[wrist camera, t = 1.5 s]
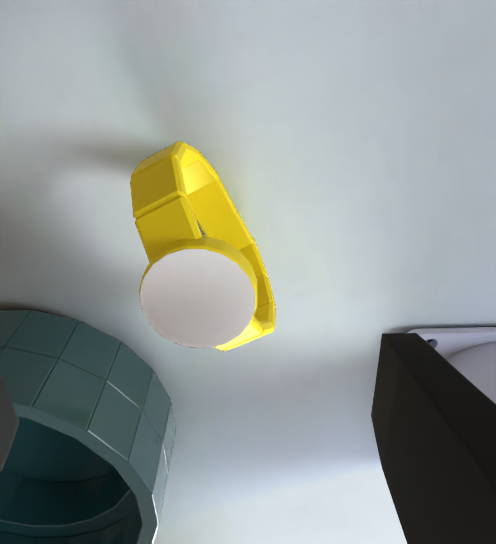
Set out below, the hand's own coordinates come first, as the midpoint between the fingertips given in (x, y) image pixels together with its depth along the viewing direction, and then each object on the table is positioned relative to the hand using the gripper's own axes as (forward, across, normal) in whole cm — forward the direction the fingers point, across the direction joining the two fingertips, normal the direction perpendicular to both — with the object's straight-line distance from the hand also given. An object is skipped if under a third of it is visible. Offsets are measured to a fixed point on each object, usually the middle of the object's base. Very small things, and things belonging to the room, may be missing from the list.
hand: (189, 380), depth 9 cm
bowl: (+8, +8, +9) cm, 15 cm away
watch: (+9, 0, 0) cm, 9 cm away
